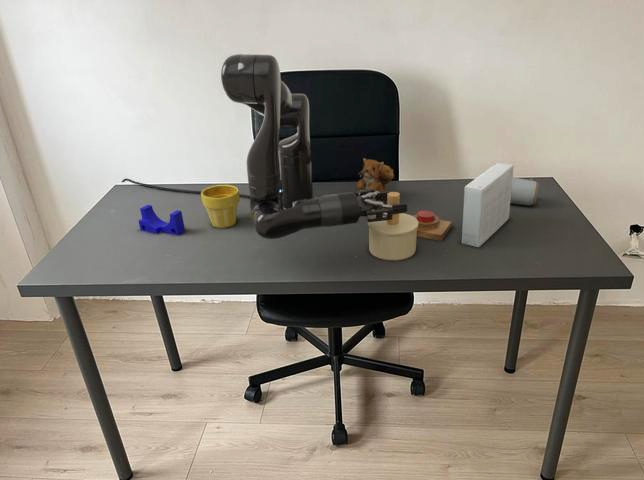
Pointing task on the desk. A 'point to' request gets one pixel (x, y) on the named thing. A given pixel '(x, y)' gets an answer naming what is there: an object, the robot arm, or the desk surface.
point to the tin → (392, 245)
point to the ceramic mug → (523, 191)
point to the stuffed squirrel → (374, 176)
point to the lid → (395, 220)
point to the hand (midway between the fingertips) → (400, 201)
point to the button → (425, 216)
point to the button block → (433, 228)
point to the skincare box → (486, 204)
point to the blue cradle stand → (160, 222)
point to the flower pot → (221, 204)
